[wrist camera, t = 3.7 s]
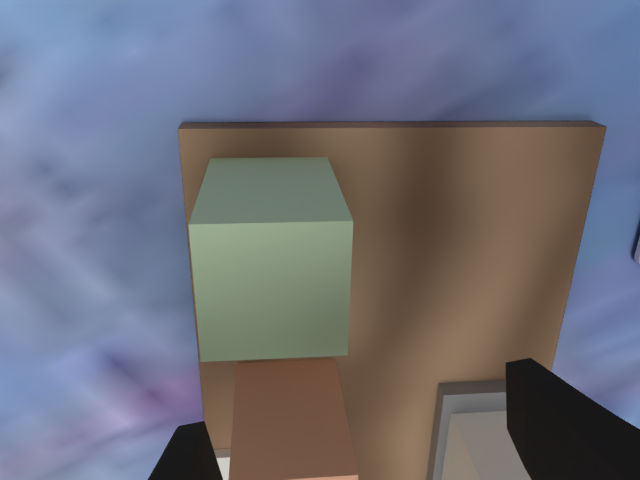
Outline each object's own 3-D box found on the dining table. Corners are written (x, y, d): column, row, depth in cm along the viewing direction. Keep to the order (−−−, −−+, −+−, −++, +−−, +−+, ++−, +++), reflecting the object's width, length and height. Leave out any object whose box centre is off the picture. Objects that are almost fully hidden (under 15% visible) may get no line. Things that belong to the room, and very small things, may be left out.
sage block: (327, 156, 19) (353, 220, 13) (325, 260, 21) (347, 355, 15) (210, 158, 19) (188, 224, 13) (217, 263, 20) (200, 361, 15)
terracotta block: (335, 358, 22) (358, 474, 17) (332, 433, 24) (353, 561, 19) (236, 363, 22) (228, 483, 17) (241, 439, 24) (234, 571, 18)
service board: (591, 121, 20) (606, 126, 19) (500, 545, 30) (507, 562, 29) (182, 122, 19) (177, 128, 18) (220, 567, 28) (219, 586, 27)
